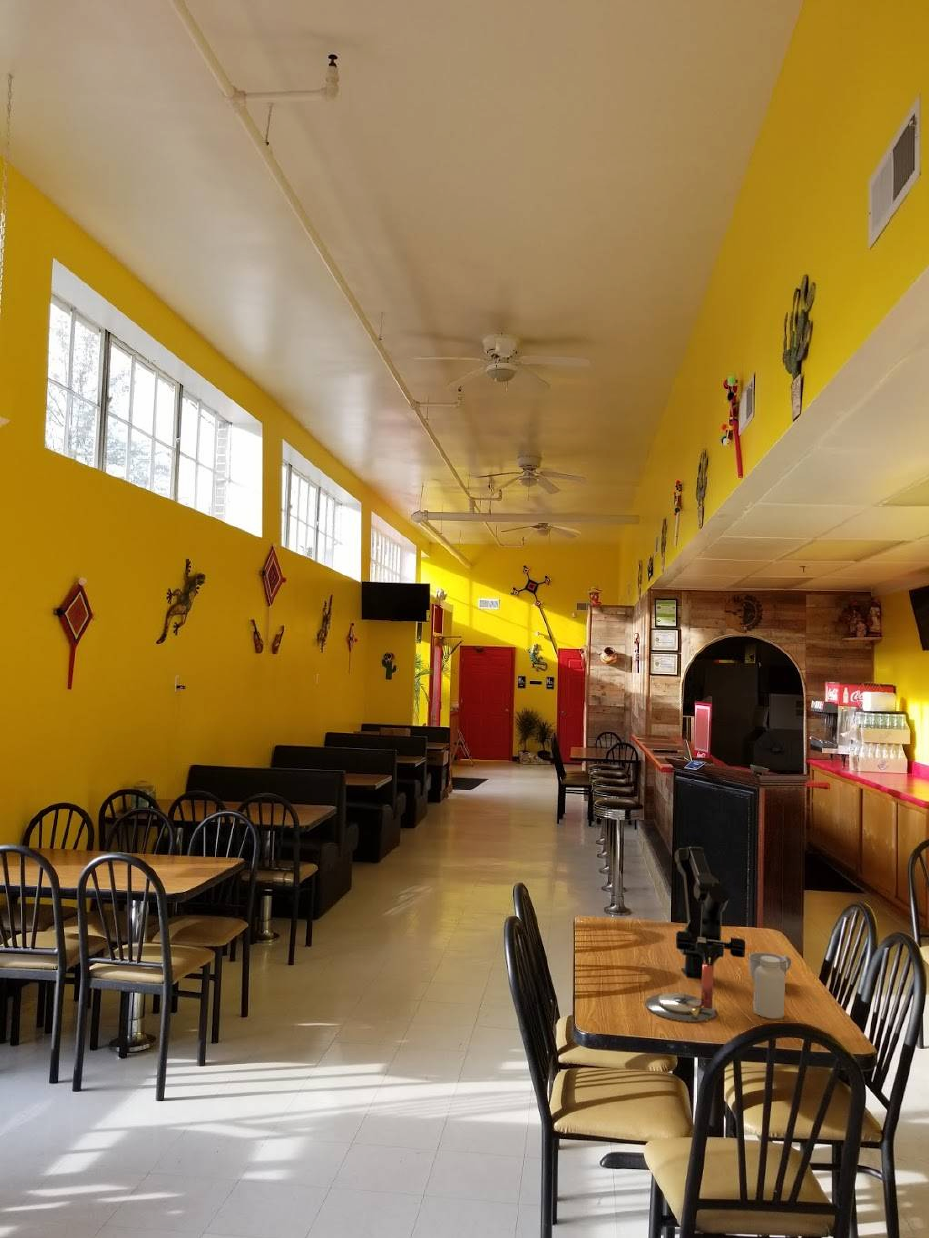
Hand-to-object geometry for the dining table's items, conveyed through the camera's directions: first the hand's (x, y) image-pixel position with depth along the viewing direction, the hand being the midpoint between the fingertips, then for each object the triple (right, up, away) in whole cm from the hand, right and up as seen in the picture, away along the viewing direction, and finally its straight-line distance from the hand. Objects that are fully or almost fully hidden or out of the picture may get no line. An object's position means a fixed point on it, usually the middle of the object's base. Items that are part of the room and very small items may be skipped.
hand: (709, 972), depth 248 cm
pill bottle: (+16, -11, -1) cm, 20 cm away
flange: (-6, -9, 0) cm, 11 cm away
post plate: (-8, -10, 0) cm, 13 cm away
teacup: (+26, -13, +25) cm, 38 cm away
